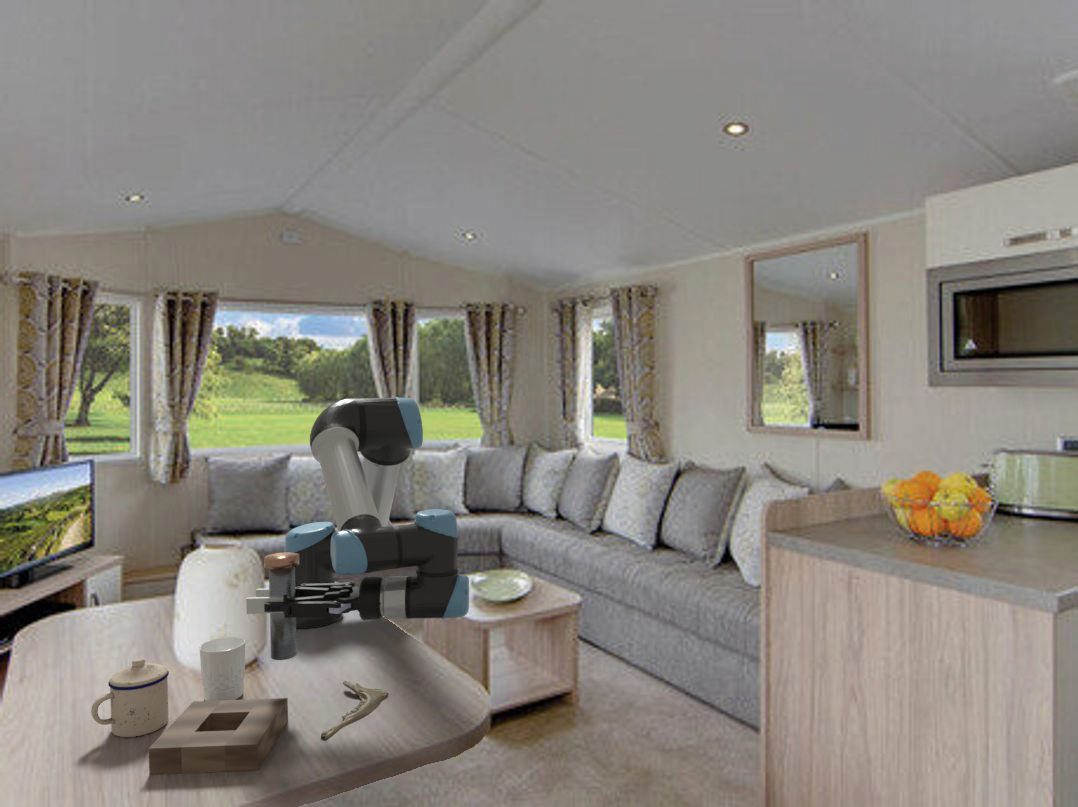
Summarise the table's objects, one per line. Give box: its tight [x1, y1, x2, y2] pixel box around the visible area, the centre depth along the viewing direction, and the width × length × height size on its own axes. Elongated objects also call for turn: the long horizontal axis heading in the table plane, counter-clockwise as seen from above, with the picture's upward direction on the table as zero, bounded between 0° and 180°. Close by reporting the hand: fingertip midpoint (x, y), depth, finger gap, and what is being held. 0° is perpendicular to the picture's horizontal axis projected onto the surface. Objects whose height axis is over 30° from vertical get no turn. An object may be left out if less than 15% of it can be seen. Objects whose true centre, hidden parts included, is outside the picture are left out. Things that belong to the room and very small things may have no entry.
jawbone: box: [320, 680, 389, 741], centre depth 129 cm, size 9×20×2 cm, turn 5°
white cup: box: [199, 636, 246, 701], centre depth 136 cm, size 8×8×10 cm
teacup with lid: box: [90, 657, 170, 738], centre depth 123 cm, size 12×9×12 cm
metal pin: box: [263, 552, 299, 661], centre depth 130 cm, size 6×6×18 cm
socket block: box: [148, 697, 289, 775], centre depth 117 cm, size 16×16×4 cm
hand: (252, 601), depth 129 cm, fingers closed on metal pin, 4 cm apart
